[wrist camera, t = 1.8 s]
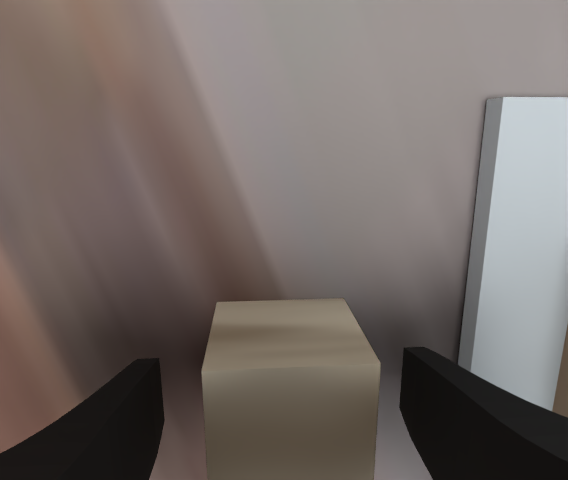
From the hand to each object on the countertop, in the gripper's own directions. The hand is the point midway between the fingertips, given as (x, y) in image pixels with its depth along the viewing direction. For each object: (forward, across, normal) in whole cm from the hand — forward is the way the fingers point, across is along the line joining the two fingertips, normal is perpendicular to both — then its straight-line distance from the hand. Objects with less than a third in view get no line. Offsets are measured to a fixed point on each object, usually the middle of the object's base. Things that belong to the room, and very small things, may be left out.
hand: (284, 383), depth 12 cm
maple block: (+2, 0, 0) cm, 2 cm away
